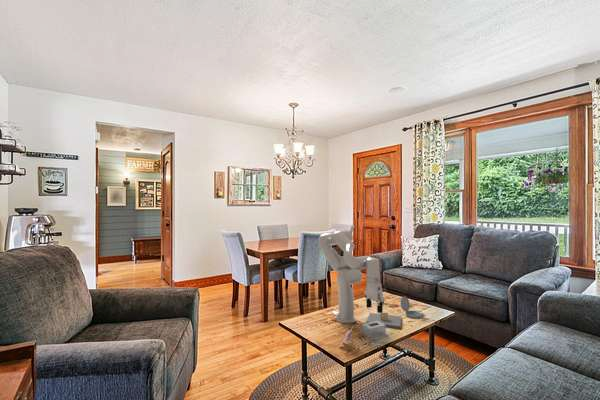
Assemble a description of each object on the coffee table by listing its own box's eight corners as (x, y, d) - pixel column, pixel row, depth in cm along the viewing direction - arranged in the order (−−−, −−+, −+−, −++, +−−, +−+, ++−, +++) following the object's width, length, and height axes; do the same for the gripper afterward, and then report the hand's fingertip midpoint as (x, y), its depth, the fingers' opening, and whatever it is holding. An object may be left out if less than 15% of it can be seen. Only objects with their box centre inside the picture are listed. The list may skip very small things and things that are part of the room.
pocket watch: (407, 294, 201) (428, 300, 189) (407, 310, 200) (428, 317, 188) (398, 297, 194) (419, 303, 183) (399, 314, 194) (420, 321, 182)
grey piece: (366, 324, 178) (366, 314, 179) (369, 314, 193) (369, 305, 194) (400, 328, 171) (400, 318, 171) (401, 318, 186) (401, 309, 186)
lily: (350, 340, 160) (342, 325, 161) (367, 338, 152) (357, 322, 153) (339, 355, 151) (330, 339, 152) (355, 354, 143) (345, 337, 144)
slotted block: (370, 337, 161) (369, 328, 161) (362, 332, 167) (362, 323, 167) (385, 333, 165) (385, 325, 165) (377, 329, 172) (377, 320, 172)
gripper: (388, 282, 160) (389, 313, 159) (369, 276, 176) (370, 304, 175) (377, 283, 157) (379, 315, 156) (359, 277, 173) (360, 306, 172)
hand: (374, 309), depth 166 cm, fingers open, 9 cm apart
